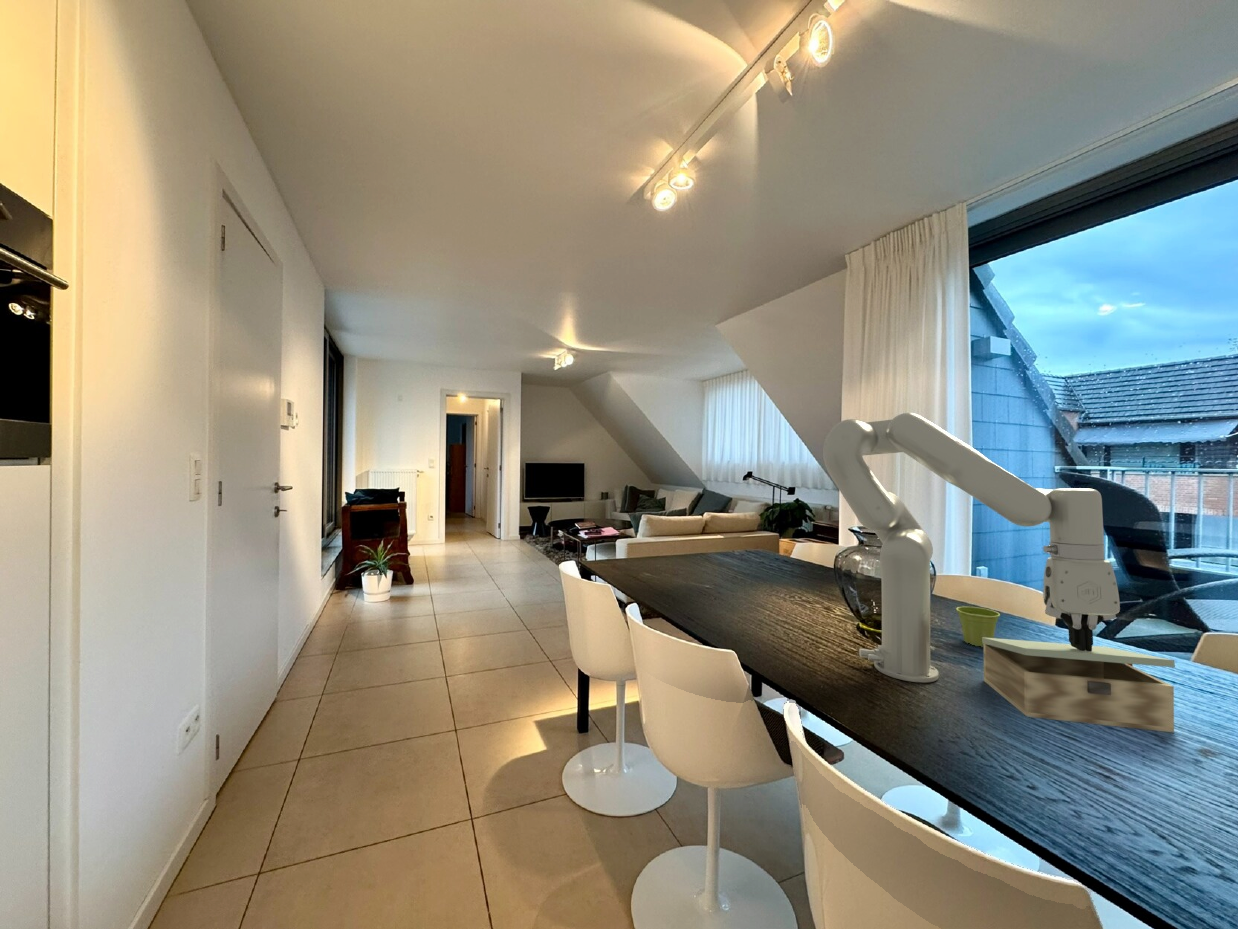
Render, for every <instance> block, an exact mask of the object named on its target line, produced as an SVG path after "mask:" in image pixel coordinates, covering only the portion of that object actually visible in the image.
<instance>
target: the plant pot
mask: <svg viewBox="0 0 1238 929" xmlns="http://www.w3.org/2000/svg"><path fill="white" fill-rule="evenodd" d="M955 610H956V612H957V613H958V617H959V619H960V624H961V630H962V637H963V642H964V641H965V642H964V643H966V644H968V643H970V644H972V645H975V646H974V647H977V646H981V647H980V648H984V643H982V637H984V638H995V632H996V626H997V622H998V620H999V617H1000V616H1001V614H1000V613H999V612H998V611H995V610H992V609H987V608H985V607H984V608H983V607H978V606H977V607H976V606H957V607H956V609H955ZM970 644H969V645H970ZM972 645H971V646H972Z"/></svg>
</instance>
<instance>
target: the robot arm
mask: <svg viewBox="0 0 1238 929" xmlns="http://www.w3.org/2000/svg"><path fill="white" fill-rule="evenodd" d="M822 448H823V449H822V450H823V451H822V455H823V462H824V466H825V469H826V471H827V472H828V474H829V476H830V477H831V479H832V481H833V482H834V484H835V486H836V487H837V489H838V490H839V492H840V493H841V495H842V497H843V498H844V499H845V501H846V504H848V506H849V508H850V509H851V511H852V512H853V514H854V515H855V516H856V518H857V520H858V521H859V523H860V524H861V525H862V526H863V527H864V528H866V529H868V530H870V531H873V532H874V533H875V535H876V536H877V537H878V539H879V541H880V542H881V543H882V545H881V548H880V553H879V554H880V555H879V563H880V566H879V567H880V575H881V576H880V578H881V644H878V645H877V648H873V649H868V648H859V649H858V656H859V657H860V658H865V659H867V660H868V661H870V662H871V661H872V662H874V663H873V664H874V665H873V666H874V668H875V669H876V670H877V671H879V672H880V673H882V674H884V675H886V676H888V677H890V678H894V679H898V680H902V681H905V682H913V683H932V682H935V681H938V680H939V678H940V672H939V670H938V669H937V668H935V666H934V665H931V575H930V574H931V558H932V557H933V553H934V549H933V548H934V547H933V544H932V541H931V539H930V537H929V536H928V535H927V533H926V532H925V531H924V529H923V528H922V527H921V525H920V523H919V522H918V521H917V519H916V518H915V517H914V515H913V514H912V513H911V511H910V510H909V509H908V507H907V506H906V505H905V503H904V502H903V500H902V499H901V498H900V497H899V496H897V495H896V494H894V493H893V492H890V491H888V490H886V489H885V488H884V486H883V485H882V483H881V482H880V481H879V479H878V478H877V477H876V475H875V474H874V472H873V471H872V469H871V468H870V467H869V465H868V464H867V463H866V462H865V460H864V458H863V456H872V455H873V456H874V455H885V454H886V455H887V454H895V453H896V454H898V453H904V454H905V455H906V456H909V457H910V458H912V459H913V460H914V461H917V462H918V463H919V464H921V465H922V466H924V467H925V468H927V469H928V470H929V471H931V472H932V473H934V474H935V475H937V476H938V477H940V478H941V479H943V480H945V481H946V482H947V483H949V484H950V485H952V486H955V487H957V488H958V489H960V490H962V491H963V492H965V493H967V494H968V495H970V496H971V497H973V498H974V499H976V500H977V501H979V503H982V504H983V505H985V506H986V507H988V508H989V509H991V510H992V511H994V512H995V513H997V514H998V515H1000V516H1001V517H1002V518H1004V519H1006V520H1007V521H1008V522H1010V523H1012V524H1014V525H1017V526H1019V527H1020V526H1021V527H1025V528H1026V527H1030V528H1031V527H1035V526H1040V525H1041V524H1043V523H1048V524H1049V537H1050V541H1049V545H1044V546H1043V547H1042V550H1043V552H1044V553H1047V554H1049V555H1050V557H1047V559H1046V562H1045V566H1044V573H1043V574H1044V575H1043V583H1042V584H1043V586H1042V596H1043V603H1044V605H1045V610H1044V613H1045V615H1047V616H1049V617H1053V618H1056V619H1060V620H1061V621H1062V622H1063V623H1064V624H1065V625H1066V626H1067V627H1068V628H1067V630H1068V642H1069V644H1071V646H1073V647H1075V648H1077V649H1079V650H1081V651H1085V650H1087V651H1092V646H1094V633H1093V631H1094V630H1096V629H1097V626H1098V625H1099V624H1100V623H1102V622H1103V621H1109V620H1110V621H1111V620H1115V619H1116V617H1117V616H1116V615H1117V614H1119V612H1121V611H1120V610H1121V607H1120V606H1121V603H1120V595H1119V589H1118V583H1117V578H1116V574H1115V571H1114V568H1113V565H1112V562H1111V561H1109V560H1105V545H1104V544H1105V541H1104V518H1103V517H1104V516H1103V515H1104V514H1103V498H1102V495H1101V492H1100V491H1098V490H1097V489H1093V488H1084V487H1083V488H1081V487H1079V488H1075V487H1074V488H1073V487H1072V488H1071V487H1069V488H1068V487H1067V488H1065V487H1064V488H1063V487H1062V488H1054V489H1047V488H1046V489H1045V488H1035V487H1034V486H1032V485H1030V484H1028V482H1025V481H1024V480H1022V479H1020V477H1017V476H1016V475H1014V474H1013V473H1011V472H1009V471H1008V470H1005V469H1004V468H1003V467H1001V466H999V465H998V464H996V463H995V462H993V461H992V460H990V459H988V458H987V457H986V456H985V455H983V454H982V453H981V452H980V451H978V450H977V449H975V448H973V447H972V446H971V445H969V444H967V443H966V442H964V441H962V440H961V439H959V438H957V437H956V436H954V435H952V434H950V433H949V432H948V431H946V430H944V429H942V428H941V427H940V426H938V425H937V424H934V423H933V422H932V421H930V420H928V419H926V418H924V417H923V416H921V415H920V414H917V413H914V412H903V413H900V414H898V415H896V416H895V417H893V418H892V419H885V420H877V421H876V420H875V421H866V422H864V421H861V420H858V419H852V418H849V419H848V418H847V419H844V420H841V421H839V422H838V423H836V424H835V425H834V426H833V427H832V428H831V429H830V431H829V432H828V433H827V435H826V436H825V439H824V443H823V446H822Z"/></svg>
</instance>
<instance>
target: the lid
mask: <svg viewBox="0 0 1238 929" xmlns="http://www.w3.org/2000/svg"><path fill="white" fill-rule="evenodd" d="M982 643H984V644H987V645H991V646H995V647H998V648H1002V649H1005V650H1009V651H1013V652H1016V653H1020V654H1023V655H1030V656H1042V657H1054V658H1066V659H1078V660H1091V661H1103V662H1115V663H1127V664H1132V665H1139V666H1140V665H1141V666H1150V667H1151V666H1154V667H1165V668H1176V664H1175V660H1174V659H1169V658H1164V657H1159V656H1154V655H1149V654H1145V653H1144V654H1143V653H1138V652H1134V651H1129V650H1124V649H1119V648H1113V647H1108V646H1100V645H1099V646H1098V645H1092V651H1087V650H1085V651H1081V650H1079V649H1077V648H1075V647H1073V646H1071V643H1063V642H1062V643H1061V642H1048V641H1047V642H1046V641H1033V640H1021V639H1007V638H996V637H994V638H984V637H982Z"/></svg>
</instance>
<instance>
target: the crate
mask: <svg viewBox="0 0 1238 929" xmlns="http://www.w3.org/2000/svg"><path fill="white" fill-rule="evenodd" d="M983 682H985V684H987V685H989V687H991V688H992V689H993V690H994V691H995V692H997V693H998V694H999V695H1000V696H1001V697H1003V698H1004V699H1005V700H1007V701H1008V702H1009V703H1010V704H1011V705H1013V707H1015V708H1016V709H1017V710H1019V711H1020V712H1021V713H1022V714H1023V715H1025V716H1026V717H1028V718H1036V719H1046V720H1055V721H1065V722H1066V721H1067V722H1073V723H1083V724H1093V725H1101V726H1112V727H1119V728H1127V729H1128V728H1130V729H1137V730H1139V729H1140V730H1147V731H1159V732H1167V733H1175V712H1174V711H1175V710H1174V709H1175V698H1174V697H1175V696H1174V694H1175V692H1174V691H1175V690H1174V688H1175V687H1174V686H1173V685H1171V684H1169V683H1167V682H1165V681H1164V680H1161V679H1159V678H1157V677H1155V676H1153V675H1151V674H1149V673H1148V672H1145V671H1143V670H1141V669H1139V668H1137V667H1134V666H1133V667H1132V666H1130V665H1128V664H1126V663H1115V662H1103V661H1091V660H1078V659H1066V658H1054V657H1042V656H1030V655H1023V654H1020V653H1016V652H1013V651H1009V650H1005V649H1002V648H998V647H995V646H991V645H987V644H984V647H983Z"/></svg>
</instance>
